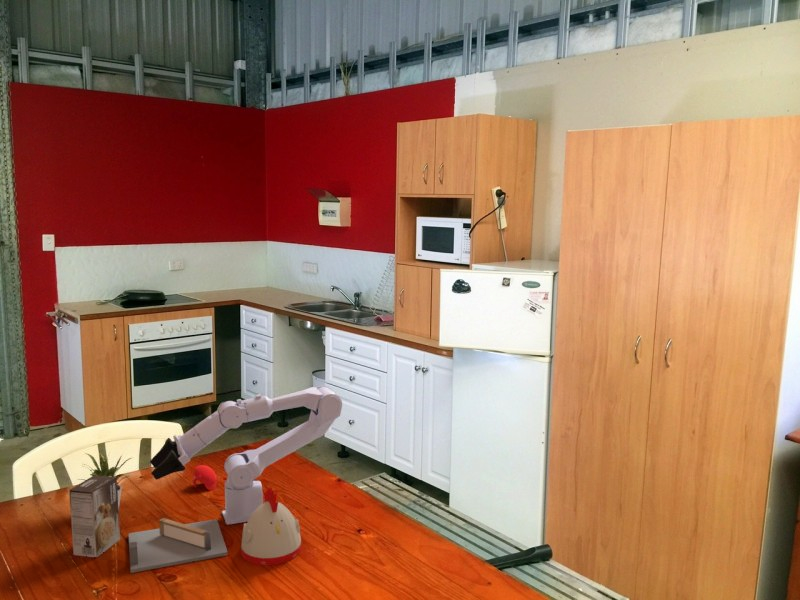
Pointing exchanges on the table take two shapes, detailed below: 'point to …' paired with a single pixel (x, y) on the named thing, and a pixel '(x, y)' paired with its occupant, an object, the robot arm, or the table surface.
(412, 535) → the table surface
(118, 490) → the house plant
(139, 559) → the frame
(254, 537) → the kitchen timer
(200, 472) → the cap
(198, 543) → the tan wooden bar
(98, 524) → the coffee box
